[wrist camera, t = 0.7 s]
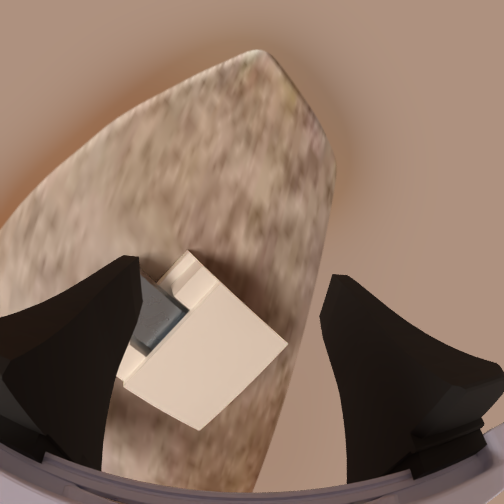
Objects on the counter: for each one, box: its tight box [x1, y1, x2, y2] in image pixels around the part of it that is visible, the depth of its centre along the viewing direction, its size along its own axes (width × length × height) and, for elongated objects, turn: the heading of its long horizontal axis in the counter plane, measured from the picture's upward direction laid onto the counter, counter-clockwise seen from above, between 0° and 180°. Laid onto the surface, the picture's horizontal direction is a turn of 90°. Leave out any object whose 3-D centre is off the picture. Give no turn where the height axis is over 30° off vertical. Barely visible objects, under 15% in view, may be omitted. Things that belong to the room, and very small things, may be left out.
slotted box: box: [116, 250, 288, 431], centre depth 29 cm, size 13×14×6 cm
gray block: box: [132, 268, 189, 350], centre depth 27 cm, size 5×12×2 cm, turn 43°
